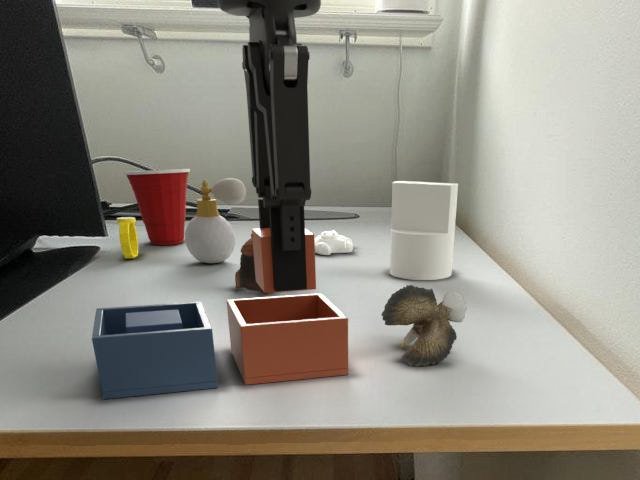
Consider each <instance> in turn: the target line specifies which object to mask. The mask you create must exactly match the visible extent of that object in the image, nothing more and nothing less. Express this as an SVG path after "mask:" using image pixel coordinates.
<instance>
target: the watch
mask: <svg viewBox="0 0 640 480" xmlns="http://www.w3.org/2000/svg"><path fill="white" fill-rule="evenodd" d="M136 222H137V220H136V217H135V216H121V217H116V223H117V224H119V225H118V226H119V227H118V229H119V230H118V231H119V233H118V234H119V242H120V248H121V252H122V255H123V257H124V258H125V259H135V258H137V257H138V256H139V241H138V240H139V239H138V231H137V228H136V225H135V223H136Z"/></svg>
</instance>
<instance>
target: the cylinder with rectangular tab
mask: <svg viewBox="0 0 640 480" xmlns="http://www.w3.org/2000/svg"><path fill="white" fill-rule="evenodd" d="M458 191H459V183H451V182H433V181H414V180H413V181H411V180H395V181H392V183H391V211H390V212H391V213H390V248H389V249H390V250H389V275H391V276H392V277H394V278H398V279H404V280H409V281H411V280H412V281H437V280H443V279H447V278H449V277H451V276H452V275H453V273H452V272H453V263H454V262H453V260H454V246H455V245H454V244H455V235H456V233H455V232H456V219H457V218H456V217H457V207H458V204H457V203H458Z"/></svg>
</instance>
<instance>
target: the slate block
mask: <svg viewBox="0 0 640 480" xmlns="http://www.w3.org/2000/svg"><path fill="white" fill-rule="evenodd" d="M125 318H126V333H140V332H153V331H165V330H178V329H183V326H182V321H181V317H180V314H179V310H163V311H149V312H135V313H126V314H125Z"/></svg>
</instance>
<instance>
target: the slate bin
mask: <svg viewBox="0 0 640 480" xmlns="http://www.w3.org/2000/svg"><path fill="white" fill-rule="evenodd" d="M163 310H179V314H180V317H181V321H182V326H183V329H178V330H165V331H153V332H140V333H126V318H125V314H126V313H135V312H149V311H163ZM91 341H92V347H93V351H94V357H95V362H96V367H97V372H98V377H99V384H100V388H101V392H102V398H103V400H110V399H111V400H112V399H121V398H122V399H123V398H130V397H140V396H149V395H150V396H152V395H160V394H161V395H162V394H170V393H171V394H172V393H179V392H189V391H200V390H209V389H218V388H219V381H218V372H217V364H216V363H217V362H216V354H215V353H216V352H215V345H214V333H213V328H212V325H211V323H210V320H209V318H208V315H207V312H206V310H205V307H204V304H203V303H202V301H188V302H173V303H171V302H169V303H157V304H141V305H128V306H127V305H125V306H112V307H99V308H97V307H96V309H95V315H94V322H93V330H92V335H91Z"/></svg>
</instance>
